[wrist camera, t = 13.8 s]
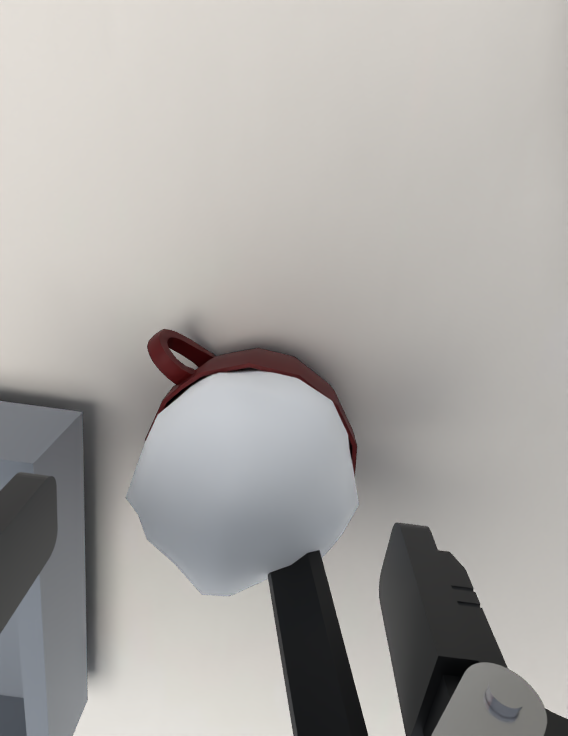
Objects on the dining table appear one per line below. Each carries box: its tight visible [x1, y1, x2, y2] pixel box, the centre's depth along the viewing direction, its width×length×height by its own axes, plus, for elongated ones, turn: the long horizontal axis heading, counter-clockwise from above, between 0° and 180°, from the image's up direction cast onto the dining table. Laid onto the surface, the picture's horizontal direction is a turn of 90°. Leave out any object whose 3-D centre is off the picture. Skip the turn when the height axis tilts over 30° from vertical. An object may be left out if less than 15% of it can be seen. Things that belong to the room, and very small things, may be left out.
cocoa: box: [126, 329, 368, 736], centre depth 13 cm, size 10×6×12 cm, turn 15°
